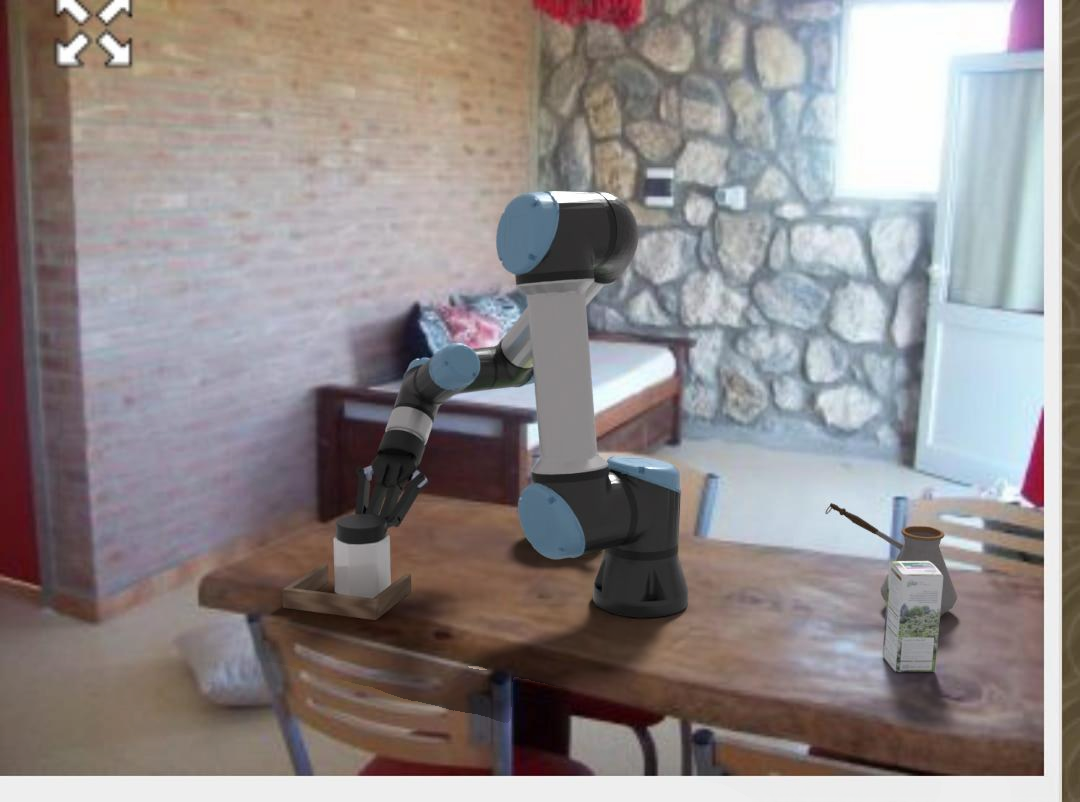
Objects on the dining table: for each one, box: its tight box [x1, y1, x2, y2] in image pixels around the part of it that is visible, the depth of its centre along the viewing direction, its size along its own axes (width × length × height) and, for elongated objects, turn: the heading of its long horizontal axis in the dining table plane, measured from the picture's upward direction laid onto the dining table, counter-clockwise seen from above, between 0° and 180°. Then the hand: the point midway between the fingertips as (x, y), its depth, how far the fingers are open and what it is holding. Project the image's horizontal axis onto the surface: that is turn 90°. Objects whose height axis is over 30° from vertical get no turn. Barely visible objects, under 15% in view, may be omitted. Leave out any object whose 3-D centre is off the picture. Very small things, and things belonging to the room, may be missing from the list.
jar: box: [333, 513, 392, 598], centre depth 192 cm, size 9×8×12 cm
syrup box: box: [882, 560, 943, 673], centre depth 164 cm, size 6×6×14 cm
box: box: [282, 563, 412, 621], centre depth 189 cm, size 16×13×3 cm
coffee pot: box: [824, 502, 958, 618], centre depth 188 cm, size 21×12×15 cm, turn 55°
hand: (363, 560), depth 194 cm, fingers closed
